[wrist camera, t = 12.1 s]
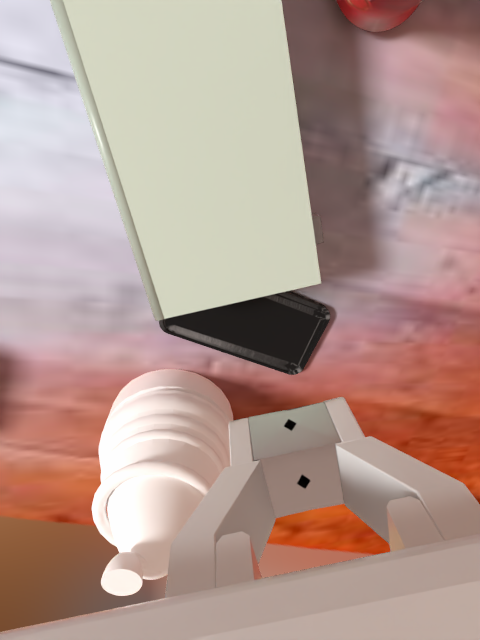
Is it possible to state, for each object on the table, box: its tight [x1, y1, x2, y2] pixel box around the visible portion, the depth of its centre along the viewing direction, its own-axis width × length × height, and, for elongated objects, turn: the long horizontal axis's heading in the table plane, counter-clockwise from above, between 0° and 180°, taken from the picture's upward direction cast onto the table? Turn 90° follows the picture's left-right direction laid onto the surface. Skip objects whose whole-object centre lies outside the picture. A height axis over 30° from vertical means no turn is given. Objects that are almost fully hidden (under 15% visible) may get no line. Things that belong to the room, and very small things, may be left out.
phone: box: [159, 291, 330, 375], centre depth 38 cm, size 8×1×15 cm
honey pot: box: [92, 369, 233, 596], centre depth 34 cm, size 13×13×18 cm
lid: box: [50, 0, 321, 321], centre depth 26 cm, size 24×13×1 cm, turn 12°
